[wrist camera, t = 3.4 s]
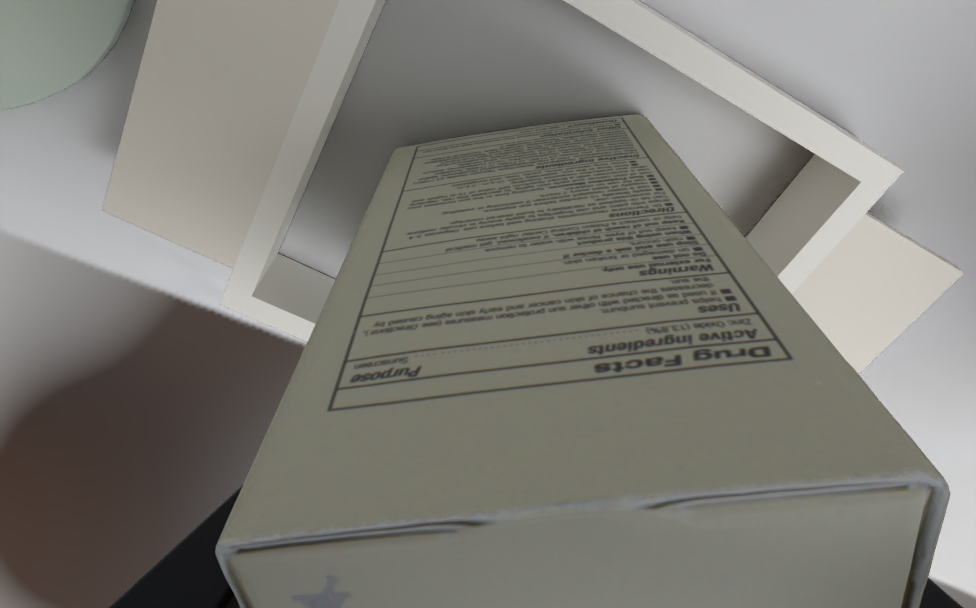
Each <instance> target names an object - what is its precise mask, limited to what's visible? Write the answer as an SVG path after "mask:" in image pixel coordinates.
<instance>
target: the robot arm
mask: <svg viewBox="0 0 976 608" xmlns="http://www.w3.org/2000/svg"><path fill="white" fill-rule="evenodd" d="M242 487H243V484H242V485H241V486H240V487H239V488H238V489H237V490H236V491H235V492H234V493H233V494H232V495H231V496H229V497H228V498H227V499H226V500H225V501H224V502H223V503H222V504H221V505H220V506H219V507H217V508H216V509H215V510H214V511H213V512H212V513H211V514H210V515H209V516H208V517H207V518H206V519H205V520H203V521H202V522H201V523H200V524H199V525H198V526H197V527H196V528H195V529H194V530H193V531H191V532H190V533H189V534H188V535H187V536H186V537H185V538H184V539H183V540H182V541H181V542H180V543H178V545H176V546H175V547H174V548H173V549H172V550H171V551H170V552H169V553H168V554H167V555H166V556H164V558H162V559H161V560H160V561H159V562H158V563H157V564H156V565H155V566H154V567H153V568H151V569H150V570H149V571H148V572H147V573H146V574H145V575H144V576H143V577H142V578H141V579H140V580H138V581H137V582H136V583H135V584H134V585H133V586H132V587H131V588H130V589H129V590H128V591H127V592H125V593H124V594H123V595H122V596H121V597H120V598H119V599H118V600H117V601H116V602H115V603H114V604H112V605H111V606H110V607H109V608H240V607H239V604H238V601H237V598H236V596H235V594H234V592H233V591H232V589H231V587H230V585H229V583H228V582H227V580H226V578H225V576H224V574H223V571H222V569H221V567H220V564H219V562H218V559H217V557H216V554H215V550H216V545H217V543H218V540H219V538H220V536H221V533H222V531H223V529H224V527H225V524H226V522H227V520H228V517H229V515H230V513H231V511H232V509H233V506H234V504H235V502H236V500H237V498H238V496H239V493H240V491H241V489H242ZM919 608H963V607H962V606H961V605H960V604H958V603H957V602H956V601H955V600H954V599H953V598H951V597H950V596H949V595H948V594H947V593H946V592H944V591H943V590H942V589H941V588H940V587H939V586H937V585H936V584H935V583H934V582H933V581H932V580H931V579H929V578H928V579H927V583H926V586H925V589H924V592H923V594H922V599H921V603H920V606H919Z"/></svg>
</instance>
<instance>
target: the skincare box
mask: <svg viewBox="0 0 976 608" xmlns="http://www.w3.org/2000/svg"><path fill="white" fill-rule="evenodd" d="M949 497H950V491H949V487H948V484H947V482H946V481H945V479H944V477H943V476H942V475H941V474H940V473H939V471H938V470H937V469H936V468H935V467H934V465H933V464H932V463H931V462H930V461H929V459H928V458H927V457H926V456H925V454H924V453H923V452H922V451H921V449H920V448H919V447H918V446H917V444H916V443H915V442H914V441H913V440H912V438H911V437H910V436H909V435H908V434H907V433H906V431H905V430H904V429H903V428H902V427H901V425H900V424H899V423H898V422H897V421H896V420H895V418H894V417H893V416H892V415H891V414H890V412H889V411H888V410H887V409H886V408H885V407H884V405H883V404H882V403H881V402H880V401H879V400H878V398H877V397H876V396H875V395H874V393H873V392H872V391H871V390H870V388H869V387H868V386H867V385H866V383H865V382H864V381H863V379H862V378H861V377H860V376H859V374H858V373H857V372H856V371H855V369H854V368H853V367H852V366H851V365H850V364H849V363H848V362H847V361H846V360H845V359H844V357H843V356H842V355H841V354H840V352H839V351H838V350H837V349H836V348H835V346H834V345H833V344H832V343H831V341H830V340H829V339H828V338H827V337H826V335H825V334H824V333H823V332H822V330H821V329H820V328H819V327H818V326H817V324H816V323H815V322H814V321H813V319H812V318H811V317H810V316H809V315H808V313H807V312H806V311H805V310H804V309H803V307H802V306H801V305H800V304H799V302H798V301H797V300H796V299H795V298H794V296H793V295H792V294H791V293H790V292H789V290H788V289H787V288H786V287H785V286H784V284H783V283H782V282H781V281H780V279H779V278H778V277H777V276H776V275H775V273H774V272H773V271H772V270H771V269H770V267H769V266H768V265H767V264H766V262H765V261H764V260H763V259H762V258H761V256H760V255H759V254H758V253H757V251H756V250H755V249H754V248H753V246H752V245H751V244H750V243H749V242H748V241H747V240H746V238H745V237H744V236H743V235H742V233H741V232H740V231H739V230H738V228H737V227H736V226H735V225H734V223H733V222H732V221H731V220H730V219H729V217H728V216H727V215H726V214H725V212H724V211H723V210H722V209H721V208H720V206H719V205H718V204H717V203H716V202H715V201H714V200H713V198H712V197H711V196H710V195H709V193H708V192H707V191H706V190H705V189H704V188H703V186H702V185H701V184H700V183H699V181H698V180H697V179H696V178H695V176H694V175H693V174H692V173H691V171H690V170H689V169H688V168H687V166H686V165H685V164H684V163H683V162H682V160H681V159H680V157H679V156H678V155H677V154H676V153H675V152H674V151H673V149H672V148H671V147H670V146H669V145H668V143H667V142H666V141H665V140H664V139H663V138H662V136H661V135H660V133H659V132H658V131H657V130H656V129H655V127H654V126H653V125H652V124H651V122H650V121H649V120H648V119H647V118H646V117H645V116H643V115H640V114H633V115H624V116H614V117H603V118H594V119H586V120H576V121H569V122H560V123H553V124H545V125H537V126H530V127H523V128H517V129H510V130H503V131H495V132H489V133H482V134H476V135H469V136H463V137H457V138H451V139H445V140H439V141H433V142H428V143H422V144H417V145H411V146H404V147H400V148H397V149H395V150H394V151H393V152H392V154H391V157H390V159H389V161H388V163H387V165H386V168H385V170H384V173H383V174H382V176H381V179H380V181H379V184H378V186H377V188H376V190H375V193H374V195H373V197H372V200H371V202H370V204H369V206H368V208H367V210H366V213H365V215H364V217H363V220H362V222H361V224H360V226H359V228H358V230H357V232H356V235H355V237H354V239H353V242H352V244H351V246H350V249H349V251H348V253H347V255H346V258H345V260H344V262H343V265H342V267H341V269H340V272H339V274H338V276H337V278H336V280H335V282H334V284H333V286H332V288H331V290H330V293H329V295H328V297H327V300H326V302H325V303H324V306H323V308H322V311H321V313H320V315H319V318H318V320H317V322H316V324H315V327H314V329H313V331H312V333H311V335H310V338H309V340H308V342H307V344H306V346H305V348H304V350H303V352H302V355H301V358H300V361H299V363H298V365H297V367H296V369H295V371H294V374H293V376H292V378H291V380H290V382H289V385H288V387H287V389H286V391H285V393H284V396H283V398H282V400H281V403H280V405H279V407H278V409H277V411H276V414H275V416H274V418H273V420H272V422H271V424H270V427H269V429H268V431H267V433H266V435H265V438H264V440H263V442H262V445H261V447H260V449H259V451H258V454H257V456H256V458H255V460H254V462H253V465H252V467H251V469H250V471H249V473H248V476H247V478H246V480H245V482H244V484H243V487H242V489H241V491H240V493H239V496H238V498H237V500H236V502H235V504H234V506H233V509H232V511H231V513H230V515H229V517H228V520H227V522H226V524H225V527H224V529H223V531H222V533H221V536H220V538H219V540H218V543H217V545H216V550H215V554H216V557H217V559H218V562H219V564H220V567H221V569H222V571H223V574H224V576H225V578H226V580H227V582H228V583H229V585H230V587H231V589H232V591H233V592H234V594H235V596H236V598H237V601H238V604H239V607H240V608H919V606H920V603H921V599H922V594H923V592H924V589H925V586H926V583H927V579H928V575H929V572H930V568H931V564H932V560H933V556H934V552H935V548H936V545H937V541H938V537H939V534H940V530H941V527H942V523H943V520H944V516H945V513H946V509H947V505H948V501H949Z"/></svg>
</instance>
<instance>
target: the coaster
mask: <svg viewBox="0 0 976 608" xmlns="http://www.w3.org/2000/svg"><path fill="white" fill-rule="evenodd" d="M133 2H134V0H0V110H3V109H11V108H15V107H19V106H23V105H27V104H31V103H34V102H36V101H39V100H41V99H43V98H46V97H48V96H50V95H53V94H55V93H57V92H59V91H61V90H63V89H66V88H68V87H69V86H71V85H72V84H74V83H75V82H77V81H78V80H80V79H82V78H83V77H85V76H86V75H87V74H88V73H89V72H90V71H92V70H93V69H94V68H95V67H96V66H97V65H98V64H99V63H100V62H101V61H102V60H103V59H104V58H105V56H106V55H107V54H108V52H109V51H110V50H111V48H112V47H113V46H114V44H115V43H116V42H117V40H118V38H119V36H120V34H121V32H122V30H123V28H124V26H125V24H126V22H127V20H128V17H129V14H130V11H131V8H132V5H133Z"/></svg>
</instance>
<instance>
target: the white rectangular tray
mask: <svg viewBox="0 0 976 608" xmlns="http://www.w3.org/2000/svg"><path fill="white" fill-rule="evenodd" d="M385 1H386V0H157V3H156V7H155V10H154V14H153V18H152V22H151V26H150V29H149V33H148V37H147V41H146V45H145V48H144V52H143V56H142V60H141V64H140V67H139V71H138V75H137V79H136V83H135V86H134V90H133V94H132V98H131V102H130V105H129V109H128V113H127V117H126V121H125V124H124V128H123V132H122V136H121V140H120V143H119V147H118V151H117V155H116V159H115V162H114V166H113V170H112V174H111V178H110V181H109V185H108V189H107V193H106V196H105V200H104V204H103V208H102V211H103V212H106V213H108V214H110V215H112V216H115V217H117V218H119V219H122V220H124V221H126V222H128V223H131V224H133V225H135V226H137V227H140V228H142V229H144V230H146V231H149V232H151V233H153V234H155V235H158V236H160V237H162V238H164V239H167V240H169V241H171V242H174V243H176V244H178V245H180V246H183V247H185V248H187V249H189V250H192V251H194V252H196V253H198V254H201V255H203V256H205V257H207V258H210V259H212V260H214V261H216V262H219V263H221V264H223V265H226V266H228V267H230V268H232V269H233V271H232V274H231V276H230V279H229V281H228V284H227V286H226V289H225V292H224V294H223V297H222V299H221V302H220V304H219V305H222V306H224V307H227V308H229V309H231V310H234V311H236V312H238V313H241V314H243V315H245V316H248V317H250V318H252V319H255V320H257V321H259V322H262V323H264V324H266V325H269V326H271V327H273V328H276V329H278V330H280V331H283V332H285V333H287V334H290V335H292V336H294V337H297V338H299V339H301V340H304V341H306V342H308V340H309V338H310V335H311V333H312V331H313V329H314V327H315V324H316V322H317V320H318V318H319V315H320V313H321V311H322V308H323V306H324V303H325V302H326V300H327V297H328V295H329V293H330V290H331V288H332V286H333V284H334V282H335V279H333V278H331V277H329V276H327V275H324V274H322V273H320V272H318V271H316V270H313V269H311V268H309V267H307V266H305V265H302V264H300V263H298V262H296V261H294V260H292V259H289V258H287V257H285V256H283V255H281V254H278V251H279V249H280V247H281V244H282V242H283V240H284V237H285V235H286V233H287V230H288V228H289V226H290V223H291V221H292V219H293V216H294V214H295V212H296V209H297V207H298V205H299V202H300V200H301V198H302V195H303V193H304V191H305V188H306V186H307V184H308V181H309V179H310V177H311V174H312V172H313V170H314V167H315V165H316V163H317V160H318V158H319V156H320V153H321V151H322V149H323V146H324V144H325V142H326V139H327V137H328V135H329V132H330V130H331V128H332V125H333V123H334V121H335V118H336V116H337V114H338V111H339V109H340V107H341V104H342V102H343V100H344V97H345V95H346V93H347V90H348V88H349V86H350V83H351V81H352V79H353V76H354V74H355V72H356V69H357V67H358V65H359V62H360V60H361V57H362V55H363V53H364V50H365V48H366V46H367V43H368V41H369V39H370V36H371V34H372V32H373V29H374V27H375V25H376V22H377V20H378V18H379V15H380V13H381V11H382V8H383V6H384V4H385ZM563 1H565V2H567V3H568V4H570V5H572V6H573V7H575V8H577V9H578V10H580V11H582V12H583V13H585V14H586V15H588V16H590V17H591V18H593V19H595V20H596V21H598V22H600V23H601V24H603V25H604V26H606V27H608V28H609V29H611V30H613V31H614V32H616V33H618V34H619V35H621V36H623V37H624V38H626V39H627V40H629V41H631V42H632V43H634V44H636V45H637V46H639V47H641V48H642V49H644V50H645V51H647V52H649V53H650V54H652V55H654V56H655V57H657V58H659V59H660V60H662V61H663V62H665V63H667V64H668V65H670V66H672V67H673V68H675V69H677V70H678V71H680V72H682V73H683V74H685V75H686V76H688V77H690V78H691V79H693V80H695V81H696V82H698V83H700V84H701V85H703V86H704V87H706V88H708V89H709V90H711V91H713V92H714V93H716V94H718V95H719V96H721V97H723V98H724V99H726V100H727V101H729V102H731V103H732V104H734V105H736V106H737V107H739V108H741V109H742V110H744V111H745V112H747V113H749V114H750V115H752V116H754V117H755V118H757V119H759V120H760V121H762V122H764V123H765V124H767V125H768V126H770V127H772V128H773V129H775V130H777V131H778V132H780V133H782V134H783V135H785V136H786V137H788V138H790V139H791V140H793V141H795V142H796V143H798V144H800V145H801V146H803V147H805V148H806V149H808V150H809V151H811V152H813V153H814V156H813V157H812V158H811V159H810V160H809V162H808V163H807V164H806V165H805V166H804V168H803V169H802V170H801V171H800V172H799V174H798V175H797V176H796V177H795V179H794V180H793V181H792V182H791V183H790V185H789V186H788V187H787V188H786V189H785V191H784V192H783V193H782V194H781V195H780V197H779V198H778V199H777V200H776V201H775V203H774V204H773V205H772V206H771V207H770V209H769V210H768V211H767V212H766V214H765V215H764V216H763V217H762V218H761V220H760V221H759V222H758V223H757V224H756V226H755V227H754V228H753V229H752V230H751V232H750V233H749V234H748V235H747V236H746V240H747V241H748V242H749V243H750V244H751V245H752V246H753V248H754V249H755V250H756V251H757V253H758V254H759V255H760V256H761V258H762V259H763V260H764V261H765V262H766V264H767V265H768V266H769V267H770V269H771V270H772V271H773V272H774V273H775V275H776V276H777V277H778V278H779V279H780V281H781V282H782V283H783V284H784V286H785V287H786V288H787V289H788V290H789V292H790V293H791V294H792V295H793V296H794V298H795V299H796V300H797V301H798V302H799V304H800V305H801V306H802V307H803V309H804V310H805V311H806V312H807V313H808V315H809V316H810V317H811V318H812V319H813V321H814V322H815V323H816V324H817V326H818V327H819V328H820V329H821V330H822V332H823V333H824V334H825V335H826V337H827V338H828V339H829V340H830V341H831V343H832V344H833V345H834V346H835V348H836V349H837V350H838V351H839V352H840V354H841V355H842V356H843V357H844V359H845V360H846V361H847V362H848V363H849V364H850V365H851V366H852V367H853V368H854V369H855V371H856V372H857V373H858V374H859V373H860V372H861V371H862V370H863V369H864V368H865V367H867V366H868V365H869V364H870V363H871V362H872V361H873V360H874V359H875V358H876V357H877V356H878V355H879V354H880V353H881V352H882V351H883V350H884V349H885V348H886V347H887V346H889V345H890V344H891V343H892V342H893V341H894V340H895V339H896V338H897V337H898V336H899V335H900V334H901V333H902V332H903V331H904V330H905V329H906V328H907V327H908V326H910V325H911V324H912V323H913V322H914V321H915V320H916V319H917V318H918V317H919V316H920V315H921V314H922V313H923V312H924V311H925V310H926V309H927V308H928V307H929V306H931V305H932V304H933V303H934V302H935V301H936V300H937V299H938V298H939V297H940V296H941V295H942V294H943V293H944V292H945V291H946V290H947V289H948V288H949V287H950V286H952V285H953V284H954V283H955V282H956V281H957V280H958V279H959V278H960V277H961V276H962V275H963V274H964V272H962V271H961V270H960V269H959V268H958V267H956V266H955V265H954V264H952V263H951V262H949V261H947V260H946V259H944V258H942V257H941V256H939V255H937V254H936V253H934V252H932V251H931V250H929V249H927V248H925V247H924V246H922V245H920V244H919V243H917V242H915V241H914V240H912V239H910V238H909V237H907V236H905V235H904V234H902V233H900V232H899V231H897V230H895V229H894V228H892V227H890V226H889V225H887V224H885V223H884V222H882V221H880V220H879V219H877V218H875V217H874V216H872V215H870V214H869V213H867V211H868V210H869V209H870V208H871V207H872V206H873V205H874V204H875V203H876V202H877V200H878V199H879V198H880V197H881V196H882V195H883V194H884V193H885V192H886V191H887V189H888V188H889V187H890V186H891V185H892V184H893V183H894V182H895V181H896V180H897V179H898V177H899V176H900V175H901V174H902V173H903V172H904V171H903V170H901V169H900V168H898V167H897V166H896V165H894V164H893V163H891V162H890V161H889V160H887V159H886V158H884V157H883V156H882V155H880V154H879V153H878V152H876V151H875V150H873V149H872V148H871V147H869V146H868V145H866V144H865V143H864V142H862V141H861V140H859V139H858V138H856V137H855V136H853V135H852V134H850V133H849V132H847V131H845V130H844V129H842V128H841V127H839V126H837V125H836V124H834V123H833V122H831V121H829V120H828V119H826V118H825V117H823V116H822V115H820V114H818V113H817V112H815V111H814V110H812V109H810V108H809V107H807V106H806V105H804V104H802V103H801V102H799V101H798V100H796V99H794V98H793V97H791V96H790V95H788V94H787V93H785V92H783V91H782V90H780V89H779V88H777V87H775V86H774V85H772V84H771V83H769V82H767V81H766V80H764V79H763V78H761V77H760V76H758V75H756V74H755V73H753V72H752V71H750V70H748V69H747V68H745V67H744V66H742V65H740V64H739V63H737V62H736V61H734V60H732V59H731V58H729V57H728V56H726V55H725V54H723V53H721V52H720V51H718V50H717V49H715V48H713V47H712V46H710V45H709V44H707V43H705V42H704V41H702V40H701V39H699V38H698V37H696V36H694V35H693V34H691V33H690V32H688V31H686V30H685V29H683V28H682V27H680V26H678V25H677V24H675V23H674V22H672V21H670V20H669V19H667V18H666V17H664V16H663V15H661V14H659V13H658V12H656V11H655V10H653V9H651V8H650V7H648V6H647V5H645V4H643V3H642V2H640V1H639V0H563Z"/></svg>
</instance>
